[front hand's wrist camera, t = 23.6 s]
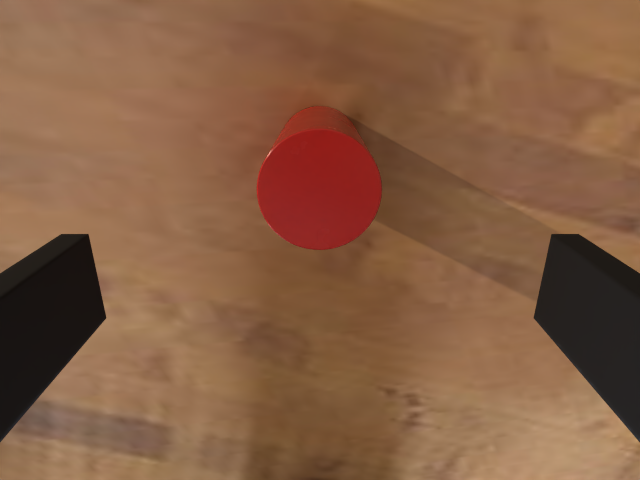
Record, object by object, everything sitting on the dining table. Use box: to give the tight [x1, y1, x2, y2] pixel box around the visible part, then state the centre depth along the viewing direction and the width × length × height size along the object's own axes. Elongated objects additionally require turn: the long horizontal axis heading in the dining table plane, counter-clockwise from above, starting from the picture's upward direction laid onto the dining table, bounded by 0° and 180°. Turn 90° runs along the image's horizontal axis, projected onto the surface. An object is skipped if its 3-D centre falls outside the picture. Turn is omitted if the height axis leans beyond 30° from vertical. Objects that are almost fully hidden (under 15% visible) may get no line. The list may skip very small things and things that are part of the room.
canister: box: [257, 106, 382, 250], centre depth 27 cm, size 6×6×12 cm
